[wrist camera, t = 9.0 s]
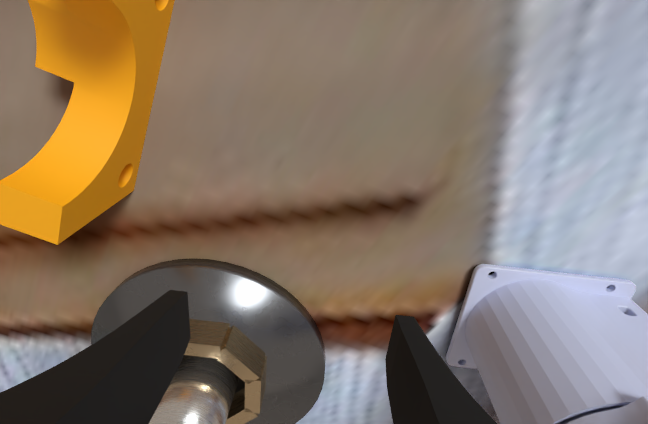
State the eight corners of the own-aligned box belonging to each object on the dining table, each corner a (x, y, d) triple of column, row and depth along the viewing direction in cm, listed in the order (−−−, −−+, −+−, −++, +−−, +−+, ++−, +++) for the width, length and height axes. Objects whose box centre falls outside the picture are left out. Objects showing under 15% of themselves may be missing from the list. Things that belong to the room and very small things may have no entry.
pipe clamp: (88, -84, 16) (-57, -154, 10) (184, -39, 17) (99, -81, 11) (59, 160, 21) (-50, 206, 15) (135, 189, 22) (57, 244, 16)
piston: (248, 358, 25) (222, 446, 20) (229, 399, 27) (200, 490, 21) (185, 336, 24) (140, 421, 19) (170, 379, 26) (125, 467, 21)
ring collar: (337, 273, 23) (336, 304, 20) (314, 439, 30) (311, 479, 27) (81, 245, 23) (46, 272, 20) (116, 417, 30) (93, 455, 27)
